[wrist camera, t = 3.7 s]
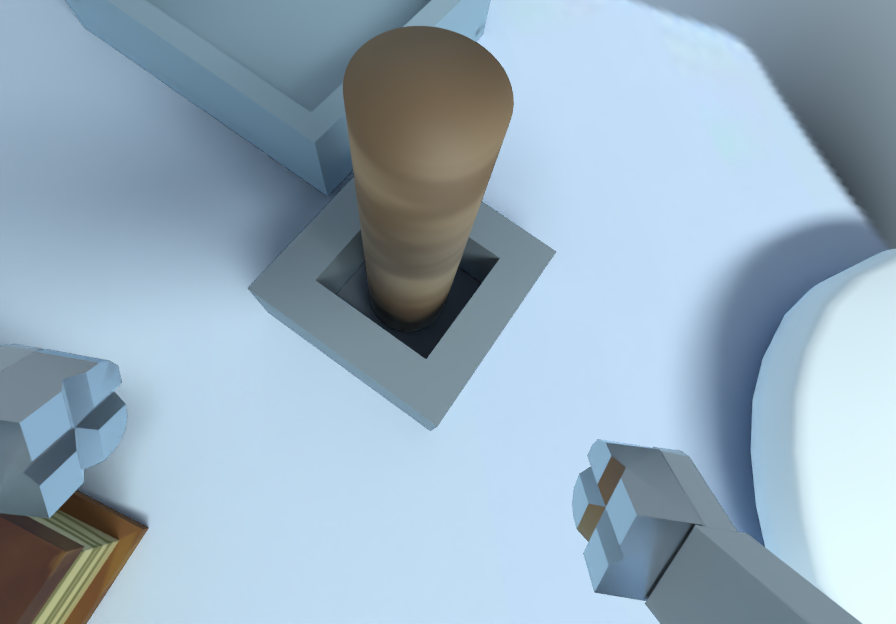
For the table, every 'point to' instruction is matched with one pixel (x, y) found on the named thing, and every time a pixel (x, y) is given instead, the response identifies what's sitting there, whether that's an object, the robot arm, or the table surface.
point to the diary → (62, 561)
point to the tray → (269, 62)
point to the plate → (833, 439)
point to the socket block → (367, 344)
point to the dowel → (421, 160)
